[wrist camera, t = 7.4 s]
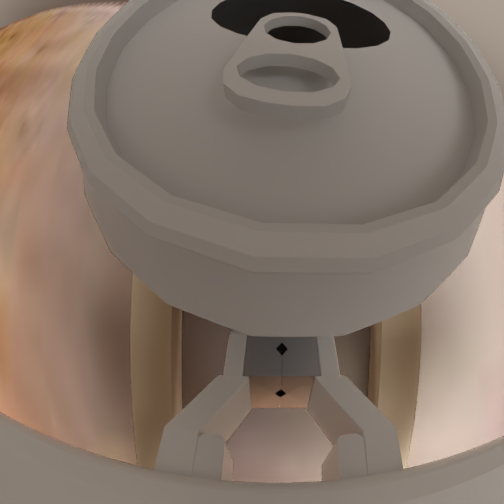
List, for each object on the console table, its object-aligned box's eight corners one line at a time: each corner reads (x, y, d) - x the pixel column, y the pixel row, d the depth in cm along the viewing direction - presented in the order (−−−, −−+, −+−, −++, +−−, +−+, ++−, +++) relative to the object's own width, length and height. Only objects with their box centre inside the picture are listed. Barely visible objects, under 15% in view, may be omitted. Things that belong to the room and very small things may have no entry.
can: (361, 185, 15) (469, -12, 3) (344, 332, 13) (565, 368, 2) (220, 163, 16) (148, -51, 4) (188, 305, 14) (-43, 258, 2)
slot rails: (152, 483, 12) (142, 496, 11) (153, 197, 15) (142, 185, 14) (388, 485, 11) (398, 498, 10) (397, 197, 15) (409, 185, 13)
